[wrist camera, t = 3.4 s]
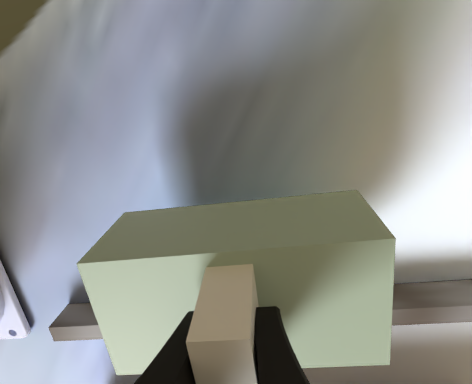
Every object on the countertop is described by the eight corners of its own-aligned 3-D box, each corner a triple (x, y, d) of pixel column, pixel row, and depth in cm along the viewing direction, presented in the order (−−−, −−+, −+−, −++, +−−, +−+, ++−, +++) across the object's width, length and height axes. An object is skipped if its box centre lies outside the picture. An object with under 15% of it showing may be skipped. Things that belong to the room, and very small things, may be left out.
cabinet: (149, 303, 16) (74, 465, 9) (124, 212, 14) (10, 334, 8) (357, 290, 15) (433, 464, 8) (357, 189, 13) (453, 310, 7)
